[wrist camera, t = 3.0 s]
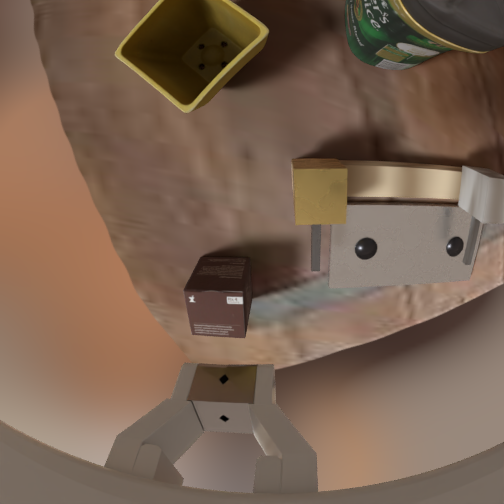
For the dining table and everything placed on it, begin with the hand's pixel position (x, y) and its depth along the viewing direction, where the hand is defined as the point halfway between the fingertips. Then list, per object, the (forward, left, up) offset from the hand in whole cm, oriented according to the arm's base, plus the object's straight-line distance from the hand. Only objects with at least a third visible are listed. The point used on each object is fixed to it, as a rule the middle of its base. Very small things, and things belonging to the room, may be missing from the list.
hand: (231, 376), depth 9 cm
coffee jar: (-13, -17, -24) cm, 32 cm away
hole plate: (-17, +7, -24) cm, 30 cm away
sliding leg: (-5, +2, -20) cm, 21 cm away
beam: (-15, +2, -24) cm, 28 cm away
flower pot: (+4, -14, -24) cm, 28 cm away
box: (+5, +11, -24) cm, 27 cm away
